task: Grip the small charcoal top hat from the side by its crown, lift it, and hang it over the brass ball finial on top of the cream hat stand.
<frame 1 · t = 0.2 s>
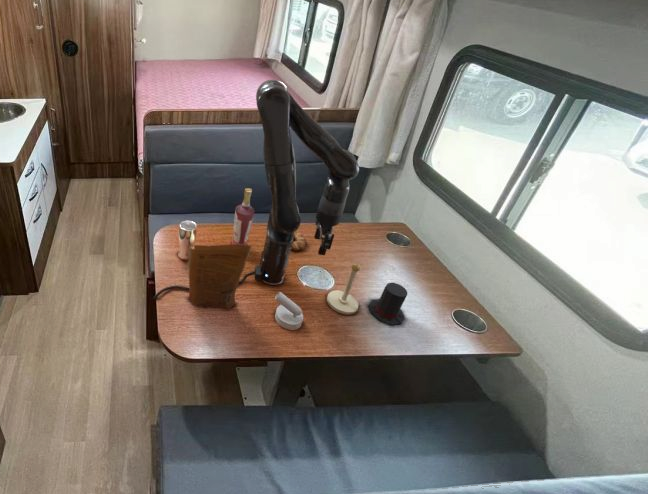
hand: (319, 246, 137), 17 cm above the table, tool pointing down, fingers open, 8 cm apart
hat: (385, 312, 134), on the table
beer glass: (185, 255, 158), on the table
hat stand: (342, 303, 138), on the table
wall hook: (285, 318, 132), on the table
liquor: (238, 247, 163), on the table
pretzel: (291, 243, 165), on the table
pancake mix bag: (211, 303, 137), on the table
cartoon head: (211, 271, 150), on the table
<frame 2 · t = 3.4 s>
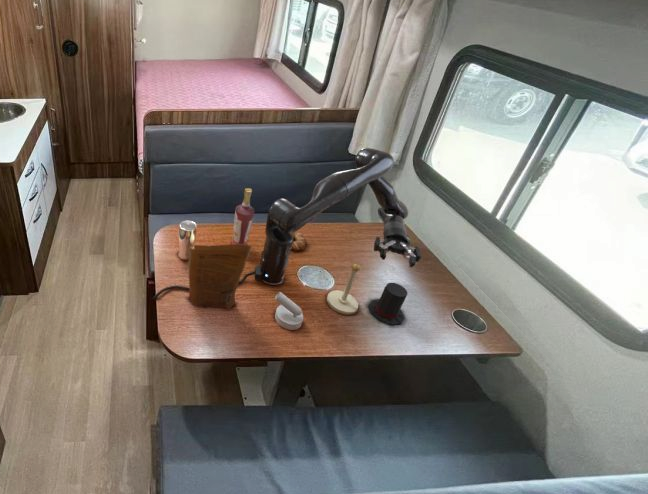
hand: (397, 261, 136), 14 cm above the table, tool horizontal, fingers open, 8 cm apart
nothing on the table moved.
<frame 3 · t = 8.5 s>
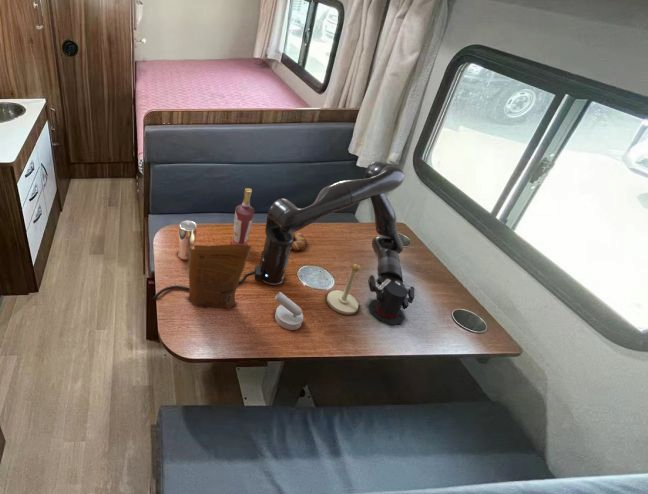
hand: (392, 303, 129), 7 cm above the table, tool horizontal, fingers closed on hat, 6 cm apart
hat: (385, 312, 134), on the table, touching gripper
everything else where it was.
when the fingers open (14 cm above the table, at t = 19.4 s): hat stays where it is, resting on hat stand.
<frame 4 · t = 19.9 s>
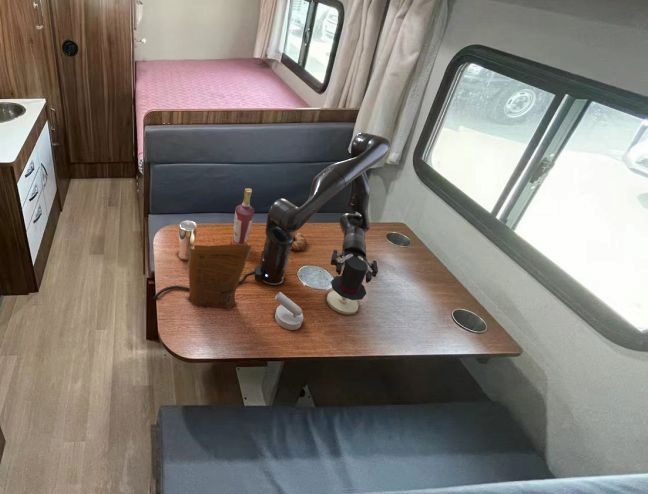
hand: (353, 276, 129), 14 cm above the table, tool horizontal, fingers open, 8 cm apart
hat: (348, 288, 134), point 8 cm above the table, touching hat stand
everything else where it was.
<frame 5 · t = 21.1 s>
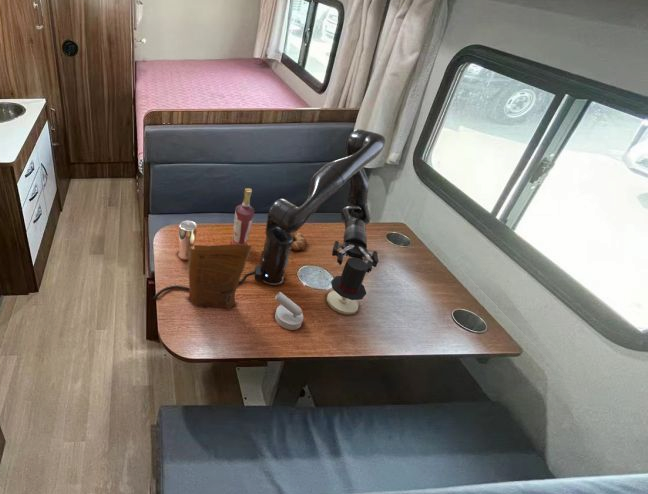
hand: (354, 266, 132), 15 cm above the table, tool horizontal, fingers open, 8 cm apart
nothing on the table moved.
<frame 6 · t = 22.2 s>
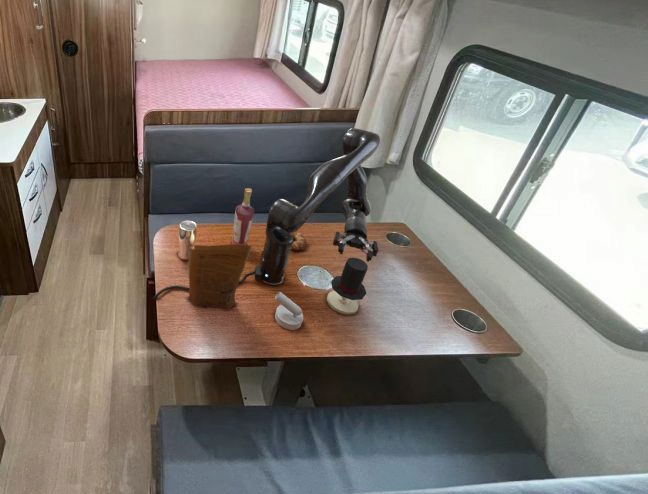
hand: (355, 256, 136), 16 cm above the table, tool horizontal, fingers open, 8 cm apart
nothing on the table moved.
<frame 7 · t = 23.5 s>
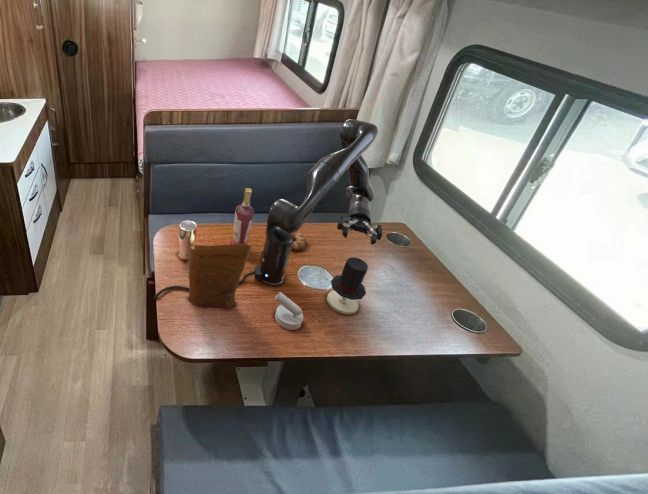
hand: (359, 239, 135), 21 cm above the table, tool horizontal, fingers open, 8 cm apart
nothing on the table moved.
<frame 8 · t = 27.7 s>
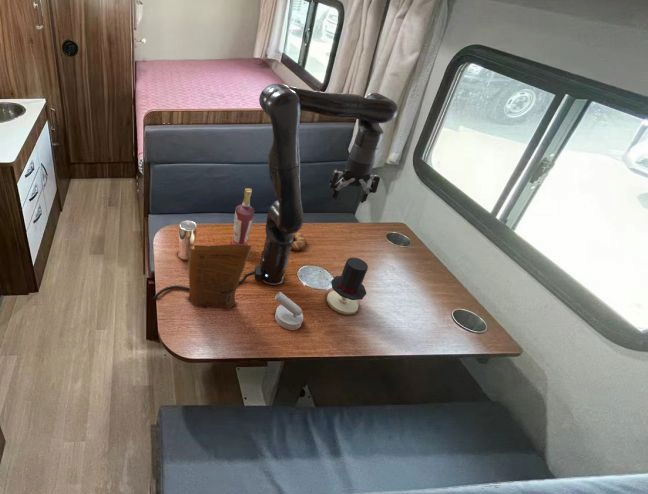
hand: (347, 199, 132), 34 cm above the table, tool pointing down, fingers open, 8 cm apart
nothing on the table moved.
at the end: hat 0.1 cm off-centre on the hat stand, point 7.6 cm above the hat stand's base; the gripper is holding nothing; hat tilted 1° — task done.
